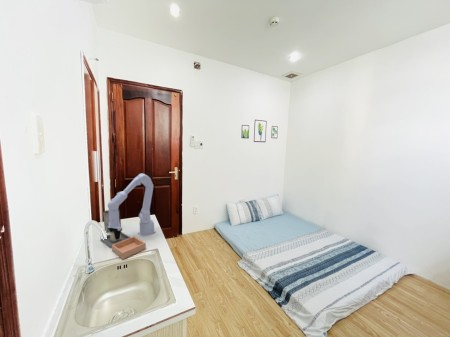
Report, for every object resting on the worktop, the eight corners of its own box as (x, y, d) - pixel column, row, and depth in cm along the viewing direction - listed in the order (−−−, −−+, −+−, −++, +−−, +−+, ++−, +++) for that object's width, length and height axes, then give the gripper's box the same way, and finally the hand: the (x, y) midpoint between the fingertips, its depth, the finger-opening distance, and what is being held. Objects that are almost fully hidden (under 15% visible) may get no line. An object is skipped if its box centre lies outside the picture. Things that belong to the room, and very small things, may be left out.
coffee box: (116, 227, 149) (114, 207, 147) (121, 228, 147) (120, 208, 145) (104, 232, 141) (102, 211, 139) (110, 233, 139) (108, 212, 136)
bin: (134, 241, 128) (134, 236, 127) (145, 248, 119) (145, 242, 119) (112, 251, 117) (111, 245, 116) (123, 259, 108) (122, 253, 108)
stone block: (117, 236, 132) (117, 229, 131) (121, 238, 129) (120, 232, 128) (110, 239, 128) (109, 232, 127) (113, 242, 125) (112, 234, 124)
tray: (120, 234, 138) (119, 230, 138) (130, 240, 129) (130, 237, 129) (100, 241, 128) (100, 237, 128) (110, 249, 119) (110, 245, 119)
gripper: (102, 217, 128) (104, 236, 129) (112, 223, 119) (114, 243, 121) (114, 214, 133) (115, 232, 135) (124, 219, 125) (125, 239, 126)
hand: (115, 237), depth 128 cm, fingers closed on stone block, 5 cm apart
